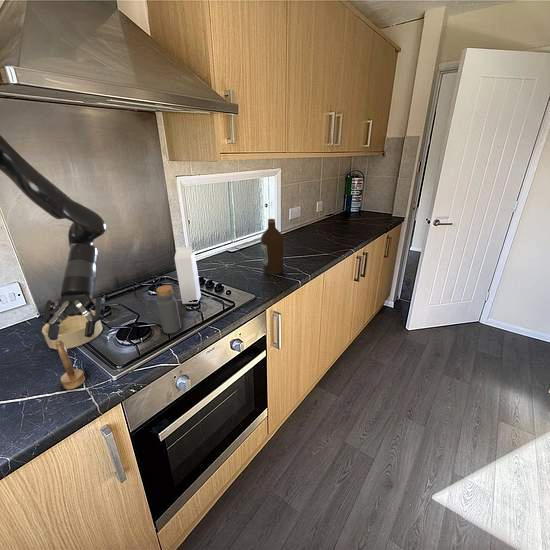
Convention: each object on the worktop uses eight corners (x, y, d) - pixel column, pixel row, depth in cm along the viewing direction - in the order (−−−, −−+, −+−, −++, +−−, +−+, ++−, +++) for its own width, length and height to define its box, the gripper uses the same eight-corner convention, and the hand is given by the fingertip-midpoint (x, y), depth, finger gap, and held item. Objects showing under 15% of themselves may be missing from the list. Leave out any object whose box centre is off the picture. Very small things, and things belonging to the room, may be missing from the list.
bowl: (35, 350, 89) (28, 335, 86) (71, 323, 102) (66, 309, 100) (83, 351, 87) (77, 336, 85) (112, 323, 101) (108, 309, 99)
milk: (186, 297, 118) (177, 244, 110) (201, 296, 118) (193, 244, 110) (182, 304, 113) (172, 249, 104) (197, 303, 113) (189, 249, 104)
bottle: (162, 326, 99) (154, 286, 93) (180, 322, 101) (173, 282, 95) (163, 335, 94) (154, 293, 88) (182, 331, 96) (174, 290, 90)
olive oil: (279, 265, 147) (278, 216, 137) (287, 273, 138) (286, 220, 128) (259, 268, 144) (256, 218, 134) (266, 276, 135) (263, 223, 125)
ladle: (58, 389, 74) (41, 346, 68) (72, 375, 78) (56, 334, 73) (76, 389, 73) (60, 347, 68) (89, 376, 78) (74, 335, 72)
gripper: (43, 276, 77) (30, 338, 71) (99, 272, 78) (92, 333, 72) (61, 286, 84) (50, 343, 78) (112, 282, 85) (106, 338, 79)
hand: (70, 338), depth 75 cm, fingers open, 8 cm apart
